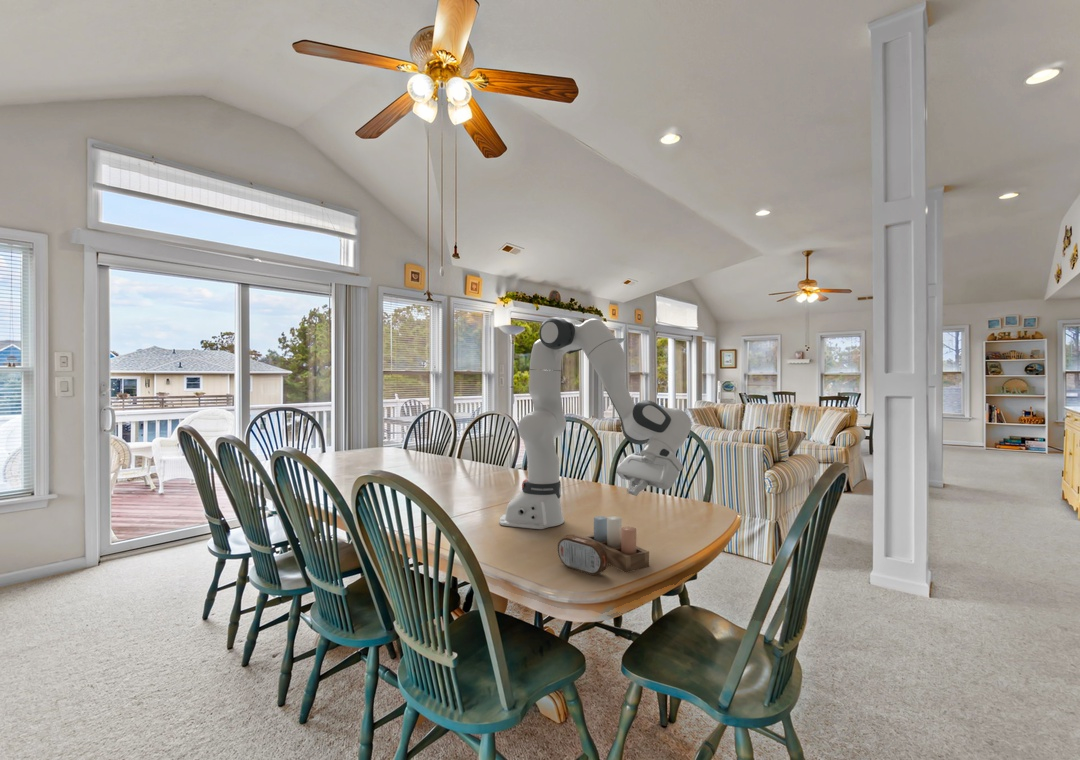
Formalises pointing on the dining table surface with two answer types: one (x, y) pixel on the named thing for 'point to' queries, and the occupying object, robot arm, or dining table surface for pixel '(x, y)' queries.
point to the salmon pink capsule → (628, 540)
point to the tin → (582, 554)
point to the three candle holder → (625, 557)
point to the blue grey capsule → (600, 529)
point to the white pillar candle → (614, 531)
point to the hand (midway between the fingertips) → (631, 493)
